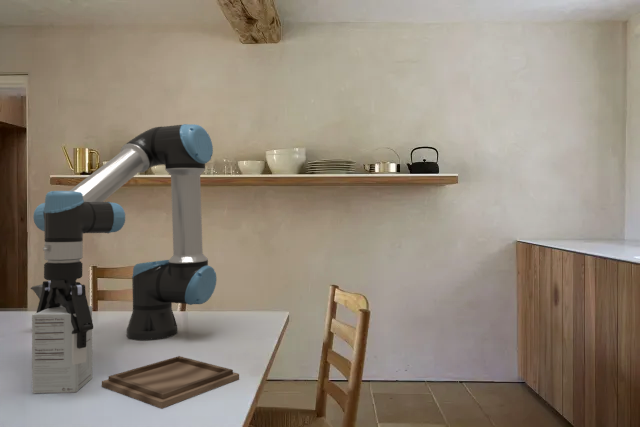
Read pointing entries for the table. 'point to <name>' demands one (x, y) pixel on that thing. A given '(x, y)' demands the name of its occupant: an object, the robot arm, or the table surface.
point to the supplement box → (57, 353)
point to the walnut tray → (169, 381)
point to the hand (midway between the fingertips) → (62, 357)
